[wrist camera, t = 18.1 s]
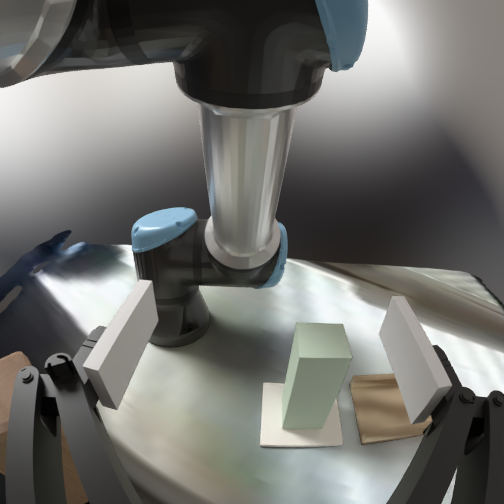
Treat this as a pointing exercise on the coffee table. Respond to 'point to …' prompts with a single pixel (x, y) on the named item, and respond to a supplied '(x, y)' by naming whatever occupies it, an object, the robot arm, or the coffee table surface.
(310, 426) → the tall block
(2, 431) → the block
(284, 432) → the pad
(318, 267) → the coffee table surface
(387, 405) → the shallow wooden tray
